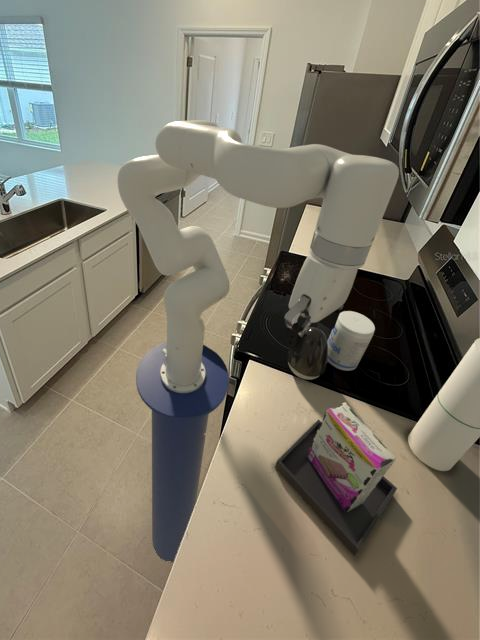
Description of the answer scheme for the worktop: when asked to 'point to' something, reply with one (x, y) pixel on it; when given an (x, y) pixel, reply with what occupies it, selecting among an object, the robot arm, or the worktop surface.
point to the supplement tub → (349, 340)
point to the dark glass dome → (310, 355)
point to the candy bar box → (348, 456)
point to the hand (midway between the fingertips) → (309, 335)
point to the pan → (318, 496)
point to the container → (451, 417)
